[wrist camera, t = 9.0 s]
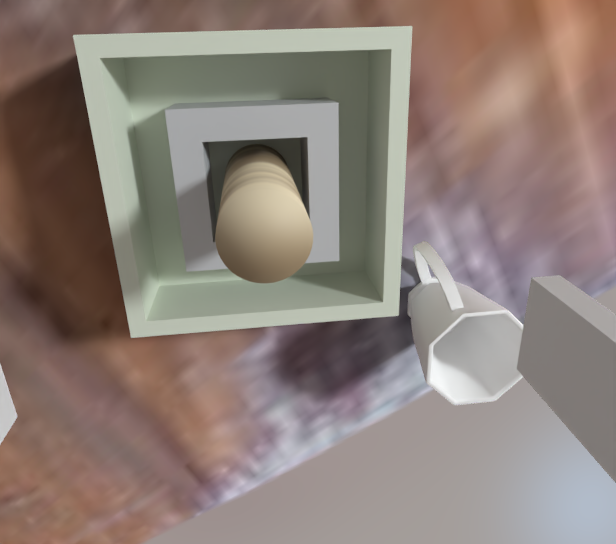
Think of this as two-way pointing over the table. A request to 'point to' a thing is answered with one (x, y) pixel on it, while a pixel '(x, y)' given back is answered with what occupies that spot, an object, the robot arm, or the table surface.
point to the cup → (461, 335)
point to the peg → (262, 217)
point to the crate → (230, 138)
